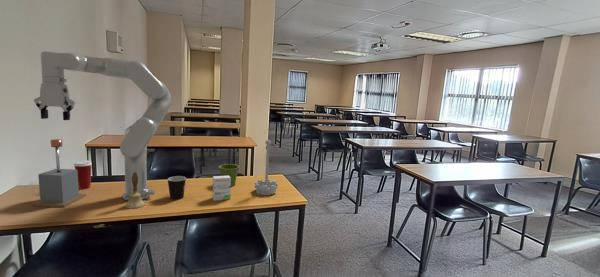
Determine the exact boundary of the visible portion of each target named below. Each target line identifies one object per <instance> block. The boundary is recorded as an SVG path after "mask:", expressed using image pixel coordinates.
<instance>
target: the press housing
mask: <svg viewBox="0 0 600 277" xmlns="http://www.w3.org/2000/svg"><path fill="white" fill-rule="evenodd" d="M37 178H38V187H39V189H38V190H39V200H37V201H34V202H32V203H31V205H32V207H47V206H49V207H50V208H51V207H52V208H66V207H67V206H70V205H72V204H74V203H76V202H78V201H79V200H82V199H83V198H86V196H87V194H86V193H80V191H79V190H80V189H78V172H77V170H75V168H74V169H72V168H71V169H70V168H60V173H57V168H53V169H51V170H47V171H44V172H41V173H38V177H37Z"/></svg>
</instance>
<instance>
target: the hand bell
mask: <svg viewBox="0 0 600 277" xmlns="http://www.w3.org/2000/svg"><path fill="white" fill-rule="evenodd" d="M132 183H133V193H132V194H130V197H129V200H127V202H126V204H125V205H124V207H125V208H126V209H133V210H134V209H140V208H143V207H144V206H145V205H146V202H144V201H143V199H141V195H140V193H137V183H138V175H137V172H134V173H133V176H132Z"/></svg>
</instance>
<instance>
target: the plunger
mask: <svg viewBox="0 0 600 277" xmlns="http://www.w3.org/2000/svg"><path fill="white" fill-rule="evenodd" d="M50 147H51V148H54V149H55V164H56V165H55V166H56V169H57V173H60V169H61V164H60V149H59V148H61V147H63V139H61V138H60V139H59V138H57V139H50Z"/></svg>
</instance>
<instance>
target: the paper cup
mask: <svg viewBox="0 0 600 277" xmlns="http://www.w3.org/2000/svg"><path fill="white" fill-rule="evenodd" d="M92 164H93V163H92V161H91V160H79V161H75V162H74V164H73V166H74V170H77V172H78V190H88V189H91V185H92Z"/></svg>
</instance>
